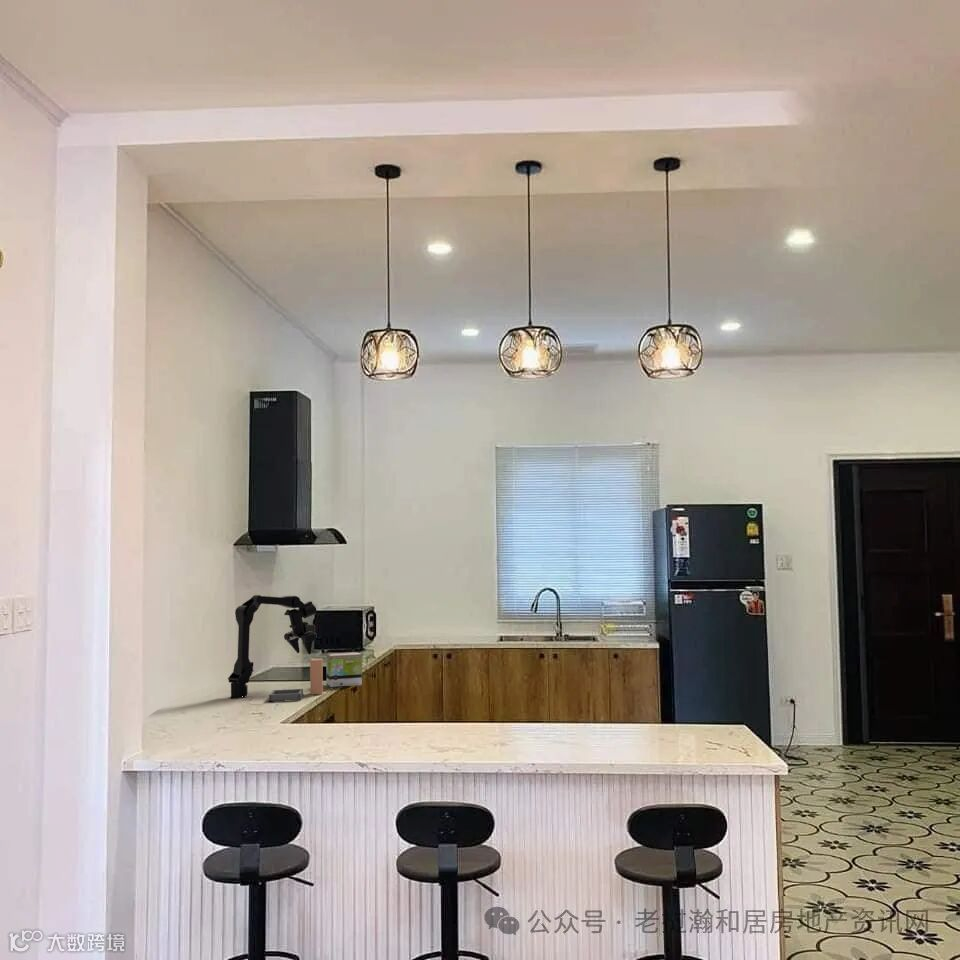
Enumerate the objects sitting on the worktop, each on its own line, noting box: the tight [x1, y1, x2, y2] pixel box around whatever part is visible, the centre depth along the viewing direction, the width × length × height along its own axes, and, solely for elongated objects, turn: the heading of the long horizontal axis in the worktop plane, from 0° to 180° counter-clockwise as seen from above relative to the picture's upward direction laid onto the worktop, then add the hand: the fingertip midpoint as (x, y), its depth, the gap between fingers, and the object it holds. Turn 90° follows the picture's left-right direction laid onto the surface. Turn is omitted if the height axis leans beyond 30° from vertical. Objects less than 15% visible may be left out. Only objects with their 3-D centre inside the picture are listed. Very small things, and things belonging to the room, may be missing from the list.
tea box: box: [325, 651, 363, 688], centre depth 416 cm, size 15×10×15 cm
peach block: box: [309, 657, 324, 695], centre depth 393 cm, size 5×6×15 cm
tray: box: [268, 688, 304, 702], centre depth 380 cm, size 13×13×3 cm
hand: (304, 653), depth 415 cm, fingers open, 9 cm apart
